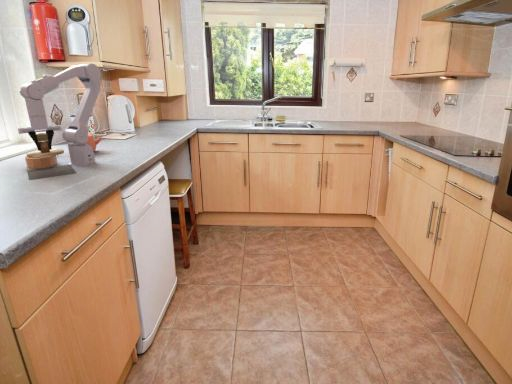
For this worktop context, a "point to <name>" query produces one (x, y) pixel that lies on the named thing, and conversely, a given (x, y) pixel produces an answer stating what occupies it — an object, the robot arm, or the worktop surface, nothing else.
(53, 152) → the lid
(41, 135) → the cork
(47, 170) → the mat
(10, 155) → the worktop surface
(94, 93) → the robot arm
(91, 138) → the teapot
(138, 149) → the worktop surface
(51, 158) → the bowl
